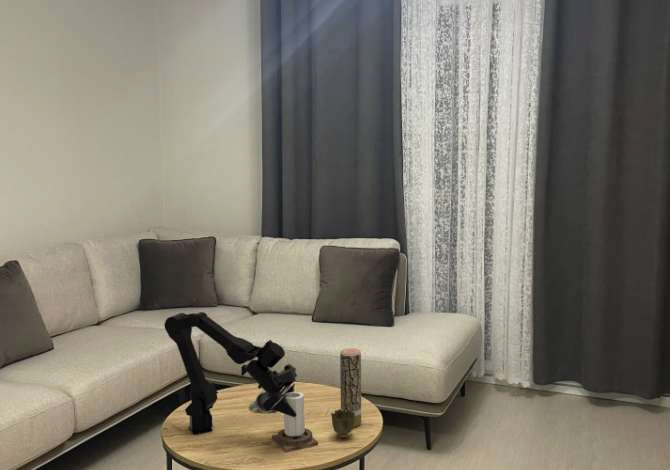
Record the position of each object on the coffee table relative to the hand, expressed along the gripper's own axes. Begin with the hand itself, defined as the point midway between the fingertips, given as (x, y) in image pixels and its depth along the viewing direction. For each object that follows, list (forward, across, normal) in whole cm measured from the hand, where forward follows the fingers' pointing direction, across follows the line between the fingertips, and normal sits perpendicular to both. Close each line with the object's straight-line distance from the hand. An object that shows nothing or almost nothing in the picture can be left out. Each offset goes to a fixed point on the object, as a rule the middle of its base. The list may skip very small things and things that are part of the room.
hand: (298, 412), depth 211 cm
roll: (+4, 0, +6) cm, 7 cm away
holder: (+6, 0, +8) cm, 10 cm away
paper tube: (+17, +17, -3) cm, 24 cm away
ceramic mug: (-6, +24, +21) cm, 33 cm away
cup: (+16, +6, -2) cm, 17 cm away
